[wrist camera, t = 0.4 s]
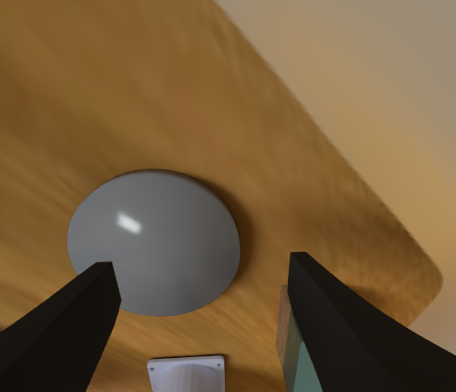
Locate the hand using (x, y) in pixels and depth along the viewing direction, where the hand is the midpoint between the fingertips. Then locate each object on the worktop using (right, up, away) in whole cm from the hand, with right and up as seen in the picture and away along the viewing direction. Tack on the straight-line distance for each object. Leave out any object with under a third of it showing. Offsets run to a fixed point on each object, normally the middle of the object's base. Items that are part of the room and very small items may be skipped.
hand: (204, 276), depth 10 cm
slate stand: (-5, -1, +10) cm, 11 cm away
